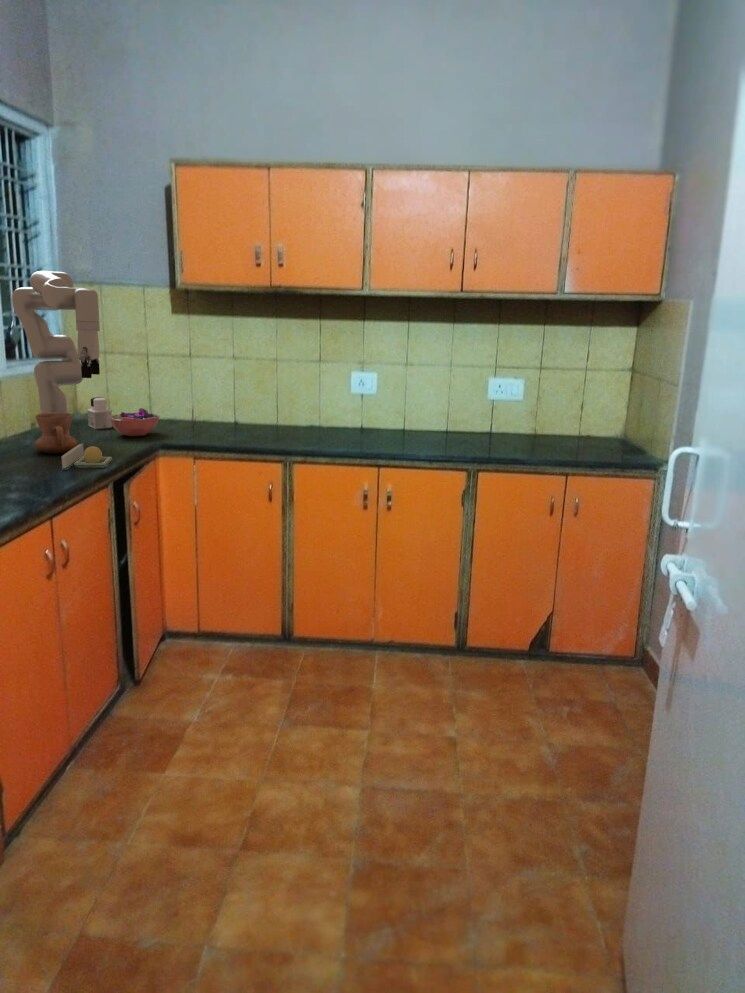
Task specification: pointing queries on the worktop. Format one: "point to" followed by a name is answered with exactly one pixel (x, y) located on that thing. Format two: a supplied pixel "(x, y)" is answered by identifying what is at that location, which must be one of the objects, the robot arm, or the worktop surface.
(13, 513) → the worktop surface
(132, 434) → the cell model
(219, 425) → the worktop surface
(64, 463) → the wall
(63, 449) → the ceramic jug
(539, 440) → the worktop surface
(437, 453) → the worktop surface
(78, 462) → the tray
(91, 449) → the ball
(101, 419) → the container
